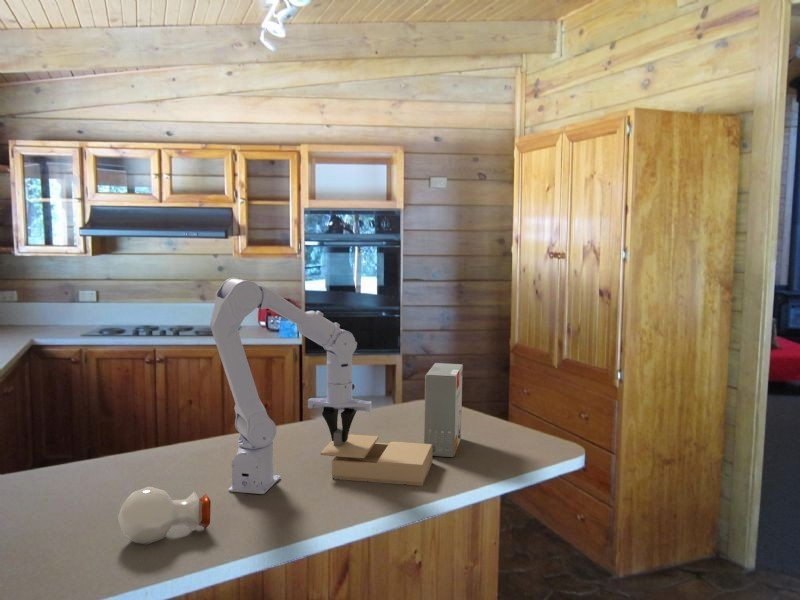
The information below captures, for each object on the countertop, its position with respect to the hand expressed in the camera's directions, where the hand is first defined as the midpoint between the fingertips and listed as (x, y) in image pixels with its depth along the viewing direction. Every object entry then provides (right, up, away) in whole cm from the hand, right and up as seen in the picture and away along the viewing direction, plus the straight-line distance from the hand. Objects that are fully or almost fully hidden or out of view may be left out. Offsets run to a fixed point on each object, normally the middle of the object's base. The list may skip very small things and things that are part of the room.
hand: (339, 440), depth 150 cm
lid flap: (+3, -1, 0) cm, 3 cm away
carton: (+10, -7, -1) cm, 12 cm away
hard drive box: (+25, -5, +15) cm, 29 cm away
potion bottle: (-28, -10, -33) cm, 45 cm away
